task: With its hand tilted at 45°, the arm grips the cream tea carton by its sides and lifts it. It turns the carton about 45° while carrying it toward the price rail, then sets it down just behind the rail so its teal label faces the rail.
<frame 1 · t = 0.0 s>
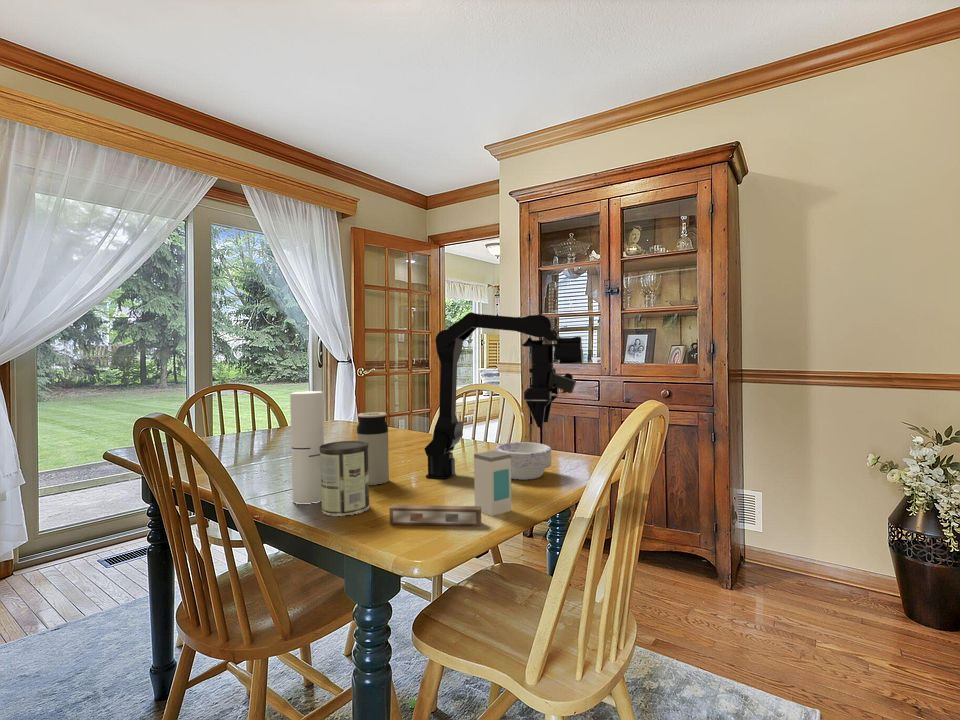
hand: (543, 424, 129), 15 cm above the table, tool pointing down, fingers open, 9 cm apart
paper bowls: (523, 476, 135), on the table
tea carton: (493, 510, 106), on the table
travel mug: (373, 482, 131), on the table
coffee can: (345, 510, 109), on the table
price rail: (435, 523, 99), on the table
cylindrical container: (309, 501, 116), on the table
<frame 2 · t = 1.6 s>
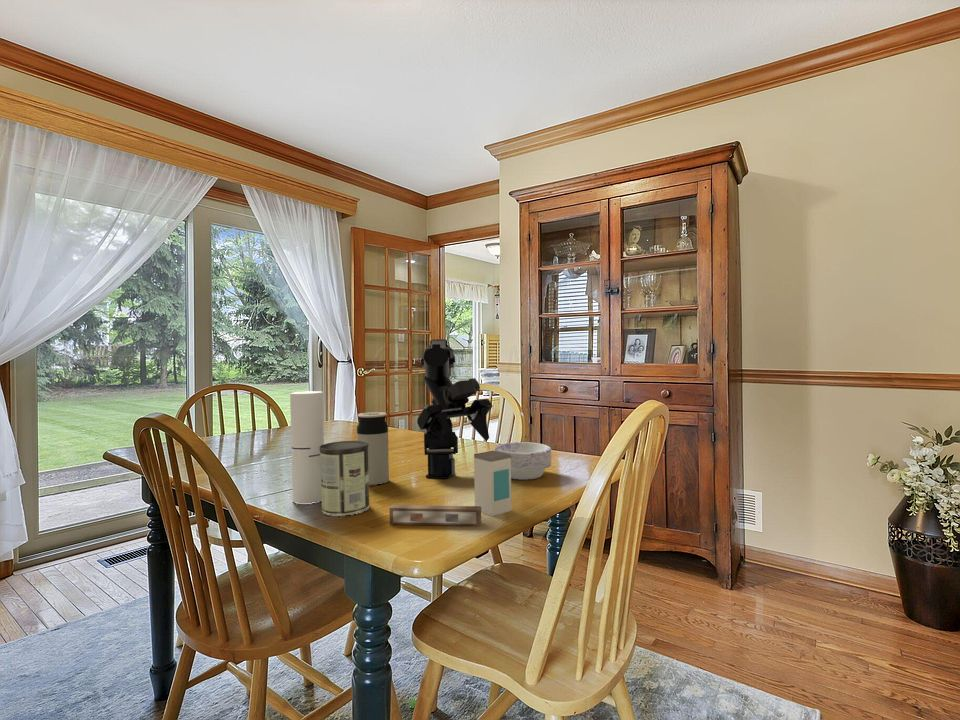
hand: (472, 442, 113), 13 cm above the table, tool tilted 45°, fingers open, 9 cm apart
nothing on the table moved.
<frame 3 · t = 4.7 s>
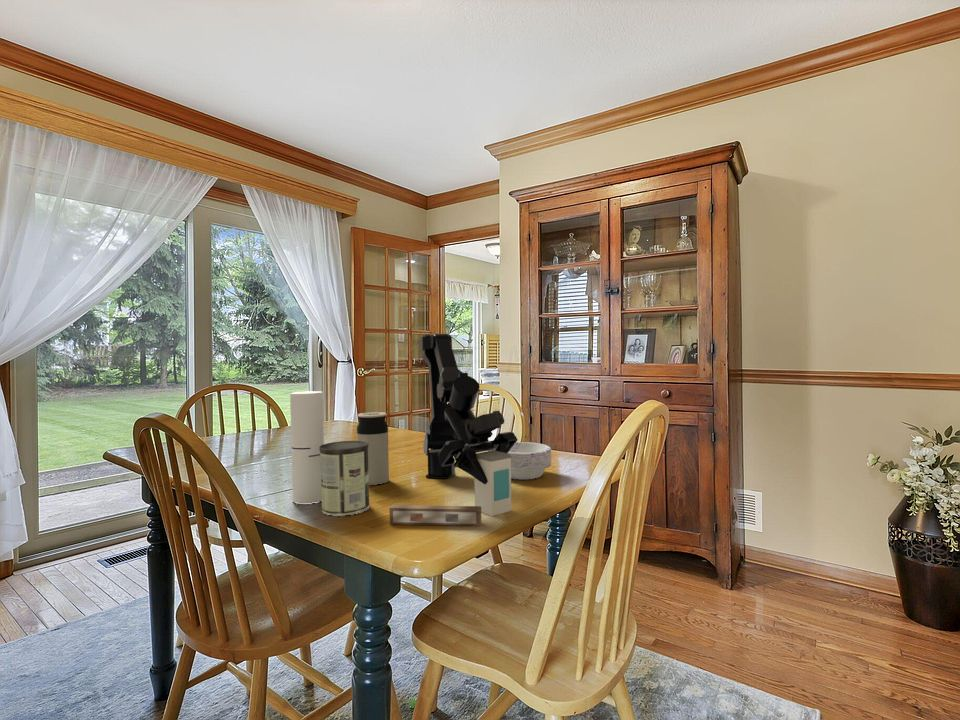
hand: (496, 480, 105), 7 cm above the table, tool tilted 45°, fingers closed on tea carton, 5 cm apart
tea carton: (493, 510, 106), on the table, touching gripper
everything else where it was.
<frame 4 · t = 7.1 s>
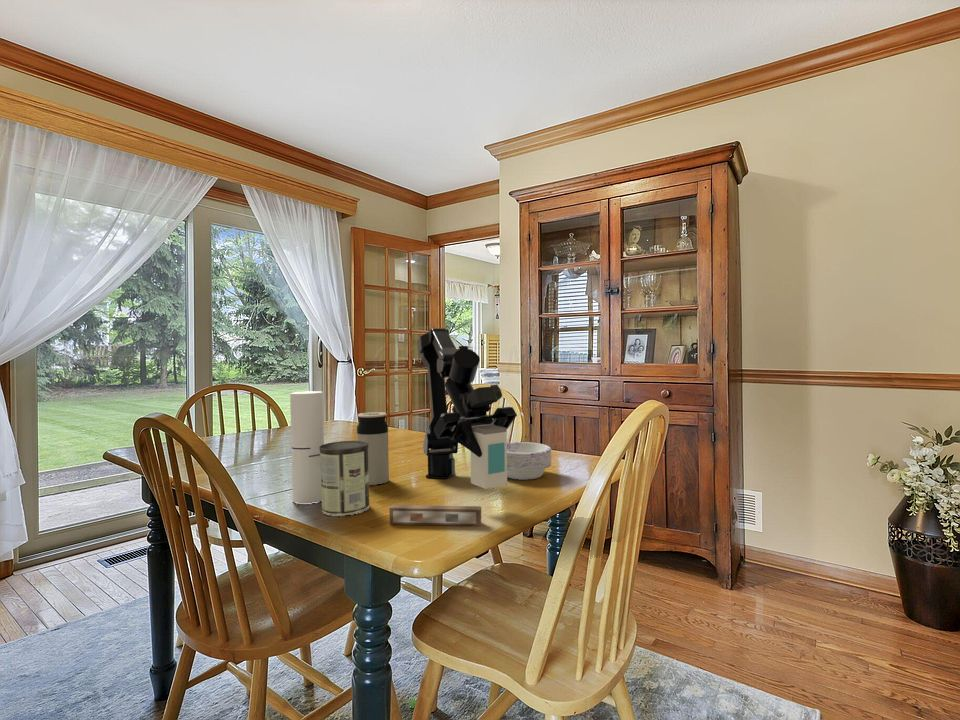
hand: (492, 454, 105), 12 cm above the table, tool tilted 45°, fingers closed on tea carton, 5 cm apart
tea carton: (488, 483, 106), point 6 cm above the table, touching gripper
everything else where it was.
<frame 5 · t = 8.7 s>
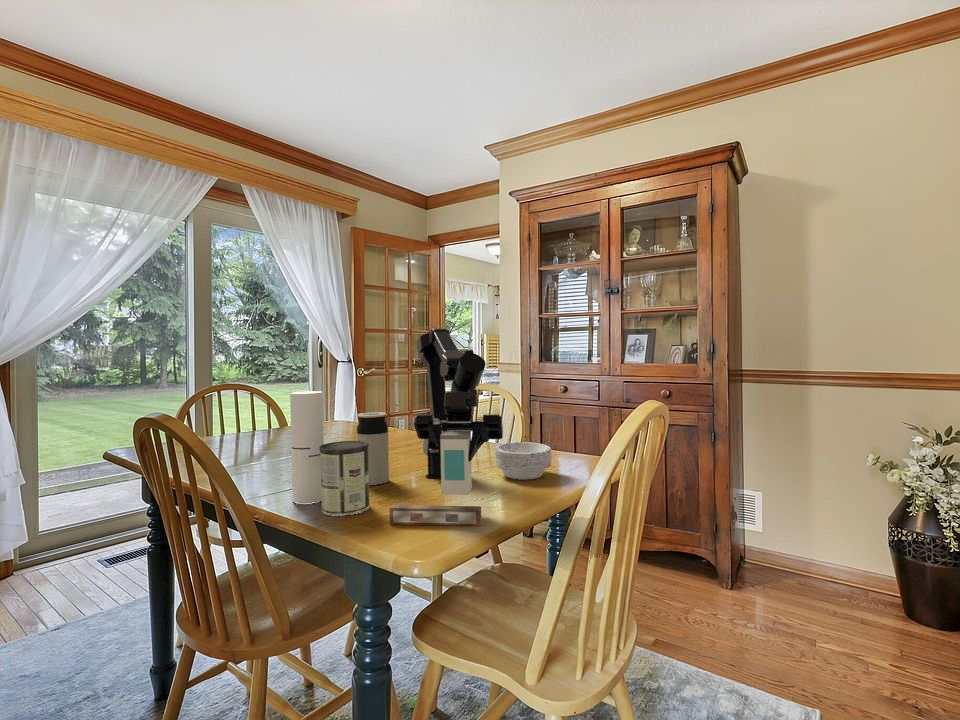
hand: (455, 460, 102), 12 cm above the table, tool tilted 45°, fingers closed on tea carton, 5 cm apart
tea carton: (456, 490, 104), point 5 cm above the table, touching gripper
everything else where it was.
when the fingers open (8 cm above the table, at t = 9.9 s): tea carton stays where it is, on the table.
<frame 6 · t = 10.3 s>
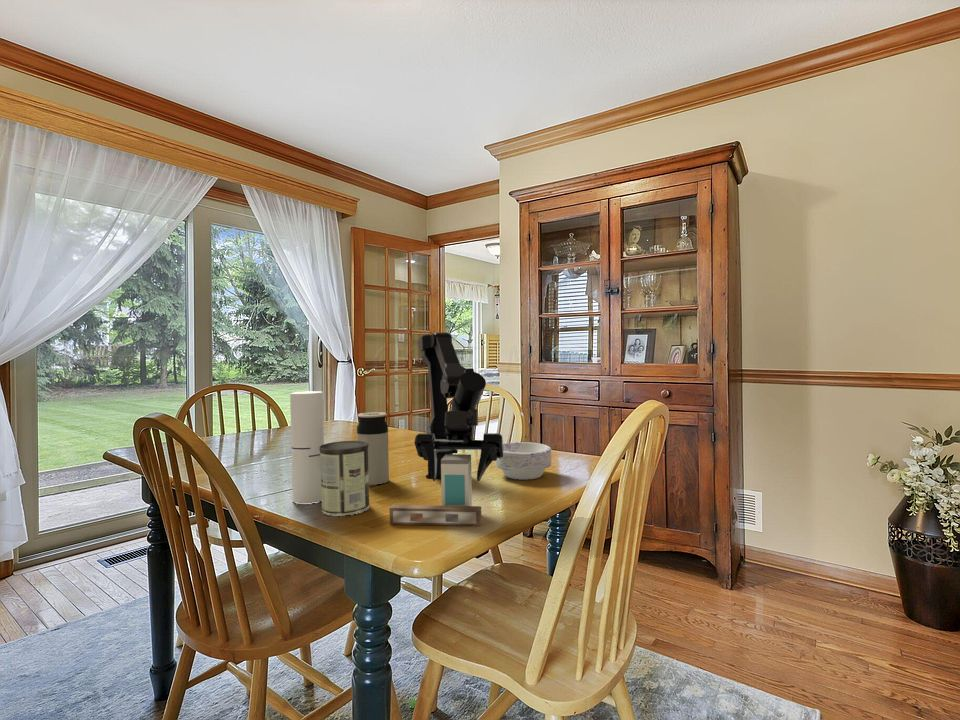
hand: (455, 480, 102), 8 cm above the table, tool tilted 45°, fingers open, 9 cm apart
tea carton: (457, 514, 104), on the table
everything else where it was.
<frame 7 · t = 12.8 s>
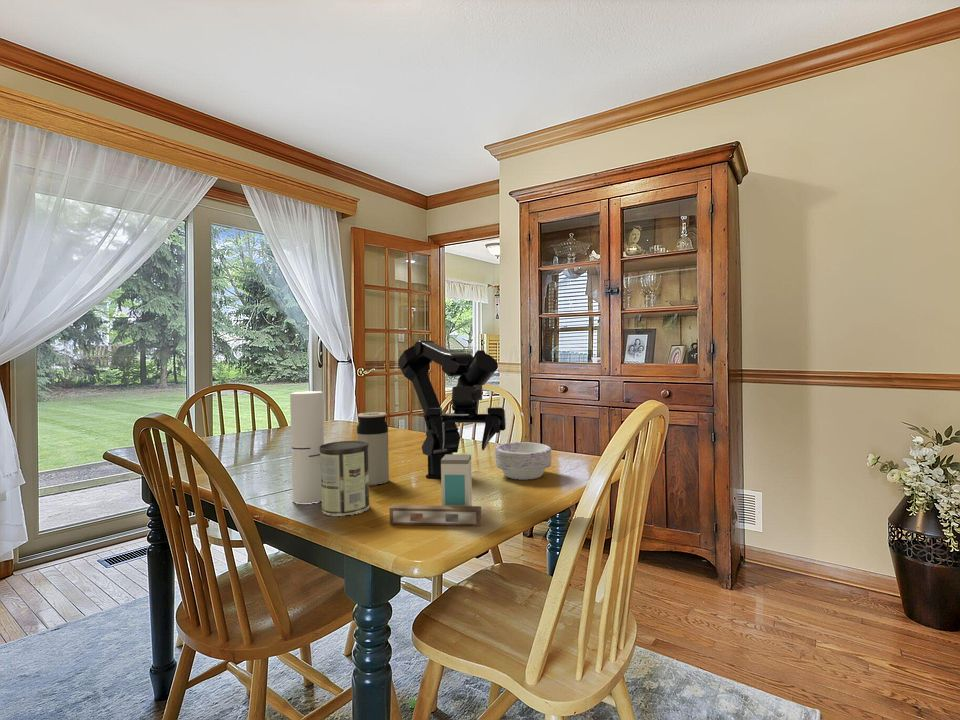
hand: (462, 449, 112), 12 cm above the table, tool tilted 45°, fingers open, 9 cm apart
nothing on the table moved.
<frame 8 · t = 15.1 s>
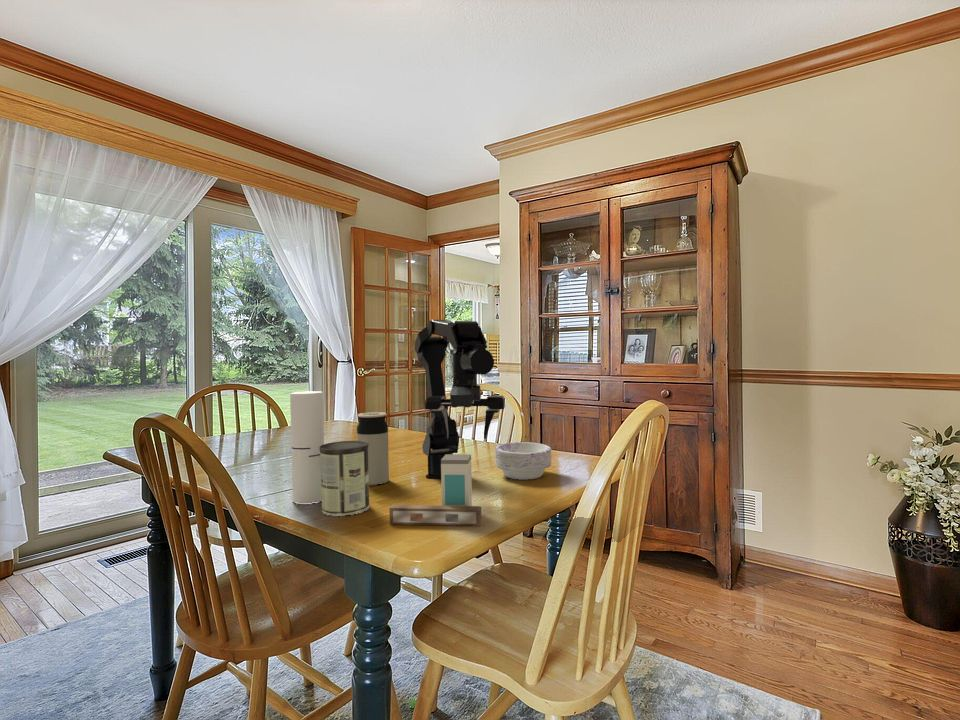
hand: (466, 438, 120), 13 cm above the table, tool pointing down, fingers open, 9 cm apart
nothing on the table moved.
at the end: tea carton 0.0 cm from the target spot, on the table; tea carton tilted 0°; the gripper is holding nothing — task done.
